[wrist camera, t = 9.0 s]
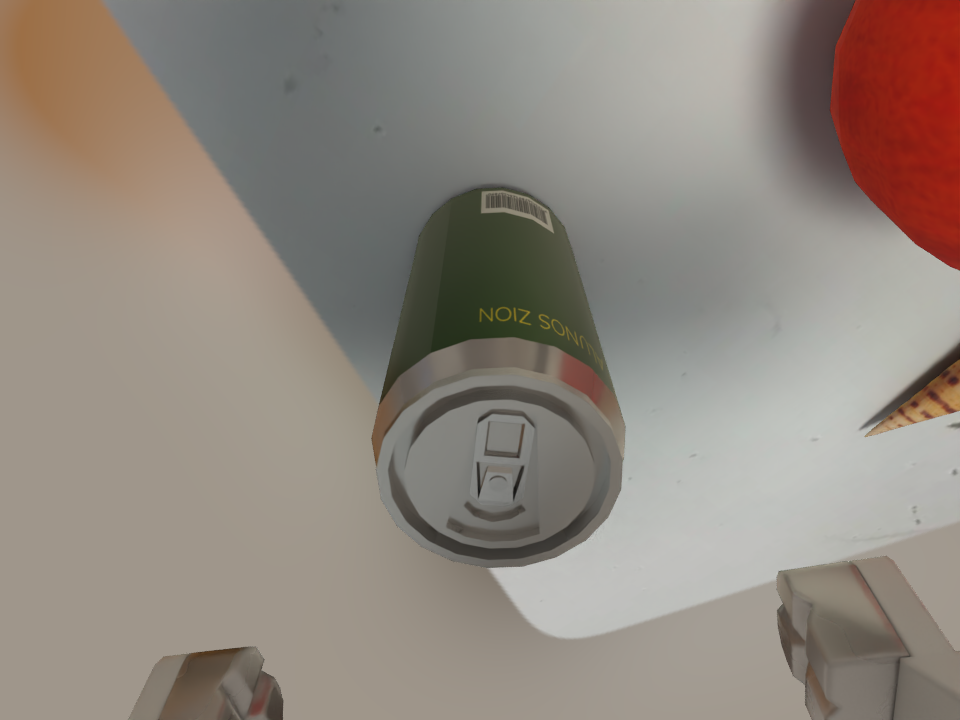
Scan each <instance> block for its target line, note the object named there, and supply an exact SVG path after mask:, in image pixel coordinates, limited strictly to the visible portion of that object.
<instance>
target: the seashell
mask: <svg viewBox="0 0 960 720" xmlns="http://www.w3.org/2000/svg"><path fill="white" fill-rule="evenodd" d="M957 411H960V359H959V360H958V361H957V362H955V363H954V364H952V365H951V366H950V367H949V368H947V369H946V370H945V371H943V372H942V373H941V374H940V375H939V376H938V377H937V378H935V379H934V380H932V381H931V382H930V383H929V384H928V385H926V386H925V387H924V388H923V389H922V390H921V391H920V392H918V393H916V394H915V395H914V396H913V397H912V398H910V399H909V400H908V401H907V402H906V403H904V404H902V405H901V406H900V407H899V408H898V409H897V410H896V411H894V412H893V413H891V414H890V415H889V416H888V417H886V418H885V419H884V420H883V421H882V422H880V423H879V424H878V425H877V426H876V427H874V428H873V429H872V430H871V431H870V432H869V433H868V434H866V435H865V436H864V437H868V436H872V435H876V434H879V433H883V432H886V431H889V430H893V429H896V428H900V427H903V426H907V425H910V424H914V423H917V422H921V421H925V420H929V419H932V418H935V417H939V416H942V415H946V414H951V413H954V412H957Z"/></svg>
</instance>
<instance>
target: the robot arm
mask: <svg viewBox="0 0 960 720" xmlns="http://www.w3.org/2000/svg"><path fill="white" fill-rule="evenodd" d="M777 591H778V593H779V596H780V598H781V600H782V602H783V604H782V605H781V606H780V608H779V609H778V610H777V620H778V629H779V634H780V639H781V644H782V648H783V650H784V653H785V656H786V660H787V662H788V665H789V667H790V669H791V672H792V674H793V676H794V677H795V678H797V679H798V680H799V681H801V682H802V683H803V684H805V688H806V689H805V692H806V693H805V694H806V695H805V696H806V697H805V698H806V699H805V705H806V707H807V709H808V712H809V714H810V717H811V719H812V720H960V651H955V650H954V648H953V647H952V646H951V644H950V643H949V641H948V640H947V638H946V637H945V635H944V634H943V632H942V631H941V629H940V628H939V626H938V625H937V623H936V622H935V621H934V619H933V618H932V616H931V615H930V613H929V612H928V610H927V609H926V608H925V606H924V605H923V603H922V602H921V600H920V599H919V597H918V596H917V594H916V593H915V591H914V590H913V588H912V587H911V585H910V584H909V583H908V581H907V580H906V578H905V577H904V575H903V574H902V572H901V571H900V569H899V568H898V566H897V565H896V564H895V562H894V561H893V560H892V559H890V558H889V557H887V556H882V557H875V558H867V559H861V560H853V561H849V562H848V561H842V562H836V563H829V564H823V565H816V566H810V567H803V568H797V569H790V570H784V571H779V572H778V575H777ZM263 663H264V658H263V657H262V655H261V654H260V652H259V650H258V649H257V648H256V647H241V648H232V649H223V650H214V651H205V652H196V653H189V654H181V655H173V656H165V657H163V658H162V659H161V660H160V661H159V662H158V663H156V664H155V666H154V668H153V669H152V672H151V674H150V676H149V678H148V680H147V682H146V684H145V686H144V688H143V690H142V692H141V694H140V696H139V698H138V700H137V702H136V705H135V706H134V709H133V711H132V713H131V715H130V717H129V719H128V720H283V698H282V694H281V690H280V687H279V685H278V683H277V681H276V679H275V678H274V677H273V676H271V675H269V674H267V673H265V672H264V671H262V670H261V669H262V666H263Z"/></svg>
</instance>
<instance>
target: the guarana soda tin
mask: <svg viewBox="0 0 960 720" xmlns="http://www.w3.org/2000/svg"><path fill="white" fill-rule="evenodd" d="M372 444H373V450H374V456H375V461H376V472H377V478H378V484H379V490H380V496H381V500H382V502H383V504H384V505H385V507H386V509H387V510H388V512H389V514H390V515H391V517H392V518H393V520H394V522H395V523H396V525H397V526H398V527H399V528H400V529H401V530H402V531H404V532H405V533H406V534H407V535H408V536H409V537H411V538H412V539H413V540H414V541H415V542H416V543H418V544H419V545H420V546H421V547H423V548H425V549H427V550H429V551H431V552H434V553H436V554H438V555H440V556H442V557H444V558H447V559H449V560H451V561H454V562H459V563H464V564H470V565H475V566H480V567H485V568H496V567H522V566H526V565H530V564H533V563H537V562H541V561H544V560H548V559H551V558H555V557H557V556H559V555H561V554H563V553H564V552H566V551H568V550H570V549H571V548H573V547H575V546H577V545H579V544H580V543H582V542H584V541H586V540H587V539H588V538H589V536H590V535H591V534H592V533H593V532H594V531H595V530H596V529H597V528H598V527H599V526H600V525H601V524H602V523H603V522H604V521H605V520H606V519H607V518H608V516H609V514H610V512H611V510H612V508H613V506H614V504H615V501H616V499H617V497H618V495H619V493H620V491H621V482H622V463H623V460H624V446H625V424H624V420H623V417H622V414H621V410H620V407H619V404H618V400H617V397H616V394H615V390H614V387H613V384H612V380H611V377H610V374H609V370H608V367H607V364H606V361H605V357H604V354H603V351H602V347H601V344H600V341H599V337H598V334H597V331H596V327H595V324H594V321H593V317H592V314H591V311H590V307H589V304H588V301H587V297H586V294H585V291H584V287H583V284H582V281H581V278H580V274H579V271H578V268H577V264H576V261H575V258H574V254H573V251H572V248H571V245H570V242H569V239H568V236H567V233H566V231H565V228H564V226H563V225H562V224H561V222H560V221H559V220H558V218H557V217H556V216H555V215H554V213H553V212H552V211H551V210H550V208H549V207H547V206H545V205H544V204H542V203H541V202H539V201H538V200H536V199H535V198H533V197H532V196H530V195H528V194H526V193H522V192H518V191H514V190H510V189H506V188H503V187H502V188H484V189H475V190H472V191H470V192H467V193H465V194H462V195H459V196H457V197H454V198H452V199H451V200H449V201H448V202H447V203H446V204H444V205H443V206H442V207H441V208H440V209H438V210H437V211H436V212H435V213H434V214H432V216H431V217H430V219H429V221H428V222H427V224H426V225H425V227H424V229H423V230H422V232H421V234H420V235H419V239H418V243H417V248H416V252H415V256H414V260H413V264H412V269H411V273H410V277H409V281H408V285H407V290H406V294H405V298H404V302H403V306H402V311H401V315H400V319H399V323H398V327H397V332H396V336H395V340H394V344H393V348H392V353H391V357H390V361H389V365H388V369H387V374H386V378H385V382H384V386H383V390H382V395H381V399H380V403H379V407H378V412H377V416H376V421H375V425H374V429H373V434H372Z"/></svg>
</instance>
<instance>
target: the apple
mask: <svg viewBox="0 0 960 720" xmlns="http://www.w3.org/2000/svg"><path fill="white" fill-rule="evenodd" d="M830 113H831V116H832V119H833V122H834V126H835V129H836V132H837V135H838V139H839V142H840V145H841V148H842V151H843V153H844V156H845V158H846V161H847V163H848V166H849V168H850V171H851V173H852V176H853V178H854V181H855V182H856V184H857V185H858V186H859V187H860V188H861V189H862V190H863V192H864V193H865V194H866V195H867V196H868V197H869V199H870V200H871V201H872V202H873V203H874V204H875V205H876V206H877V207H878V208H879V209H880V210H881V211H883V212H884V213H885V214H886V215H887V216H888V217H889V218H890V219H891V220H892V221H893V222H894V223H895V224H896V225H897V226H898V227H899V228H900V229H901V230H902V231H903V232H904V233H905V234H906V235H907V236H908V237H909V238H910V239H911V240H912V241H913V242H914V243H915V244H916V245H918V246H919V247H921V248H922V249H924V250H925V251H927V252H929V253H930V254H932V255H933V256H935V257H936V258H938V259H939V260H941V261H942V262H944V263H945V264H947V265H949V266H950V267H952V268H955V269H957V270H960V0H856V1H855V3H854V5H853V8H852V10H851V12H850V14H849V17H848V19H847V21H846V23H845V26H844V28H843V30H842V33H841V35H840V37H839V39H838V42H837V44H836V47H835V59H834V70H833V81H832V93H831V104H830Z"/></svg>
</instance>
